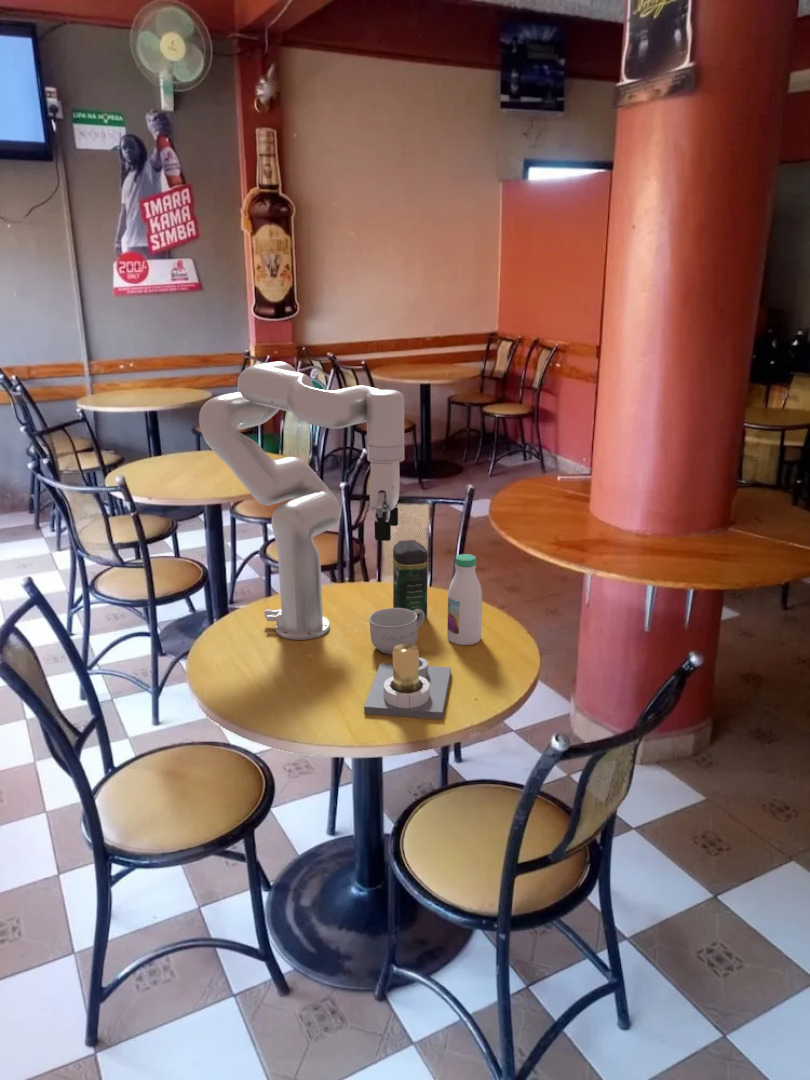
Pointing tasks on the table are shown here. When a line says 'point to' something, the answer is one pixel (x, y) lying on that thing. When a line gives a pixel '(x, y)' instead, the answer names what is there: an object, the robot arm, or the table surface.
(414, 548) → the coffee jar
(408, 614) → the teacup
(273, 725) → the table surface
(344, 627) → the table surface
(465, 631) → the milk bottle
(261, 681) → the table surface
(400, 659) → the gold cylindrical peg
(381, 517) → the robot arm
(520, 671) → the table surface
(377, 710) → the collar board
